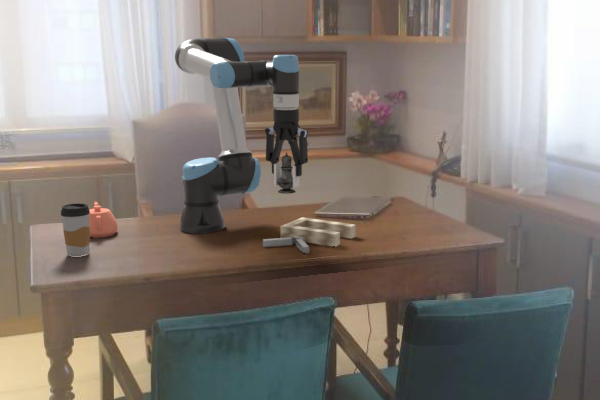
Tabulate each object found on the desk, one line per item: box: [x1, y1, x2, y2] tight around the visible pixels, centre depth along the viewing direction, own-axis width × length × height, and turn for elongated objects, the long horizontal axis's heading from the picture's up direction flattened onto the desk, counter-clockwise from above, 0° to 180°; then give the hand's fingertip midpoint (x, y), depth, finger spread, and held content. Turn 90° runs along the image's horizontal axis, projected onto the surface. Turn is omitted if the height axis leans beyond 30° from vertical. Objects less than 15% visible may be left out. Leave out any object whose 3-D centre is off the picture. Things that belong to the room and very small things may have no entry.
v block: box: [262, 236, 310, 254], centre depth 229 cm, size 10×17×2 cm, turn 59°
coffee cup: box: [60, 202, 91, 256], centre depth 221 cm, size 8×8×15 cm
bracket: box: [279, 216, 356, 248], centre depth 239 cm, size 20×14×4 cm
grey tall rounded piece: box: [277, 152, 296, 195], centre depth 222 cm, size 6×6×12 cm
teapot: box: [89, 201, 119, 239], centre depth 246 cm, size 12×18×10 cm
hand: (286, 185), depth 223 cm, fingers closed on grey tall rounded piece, 6 cm apart
